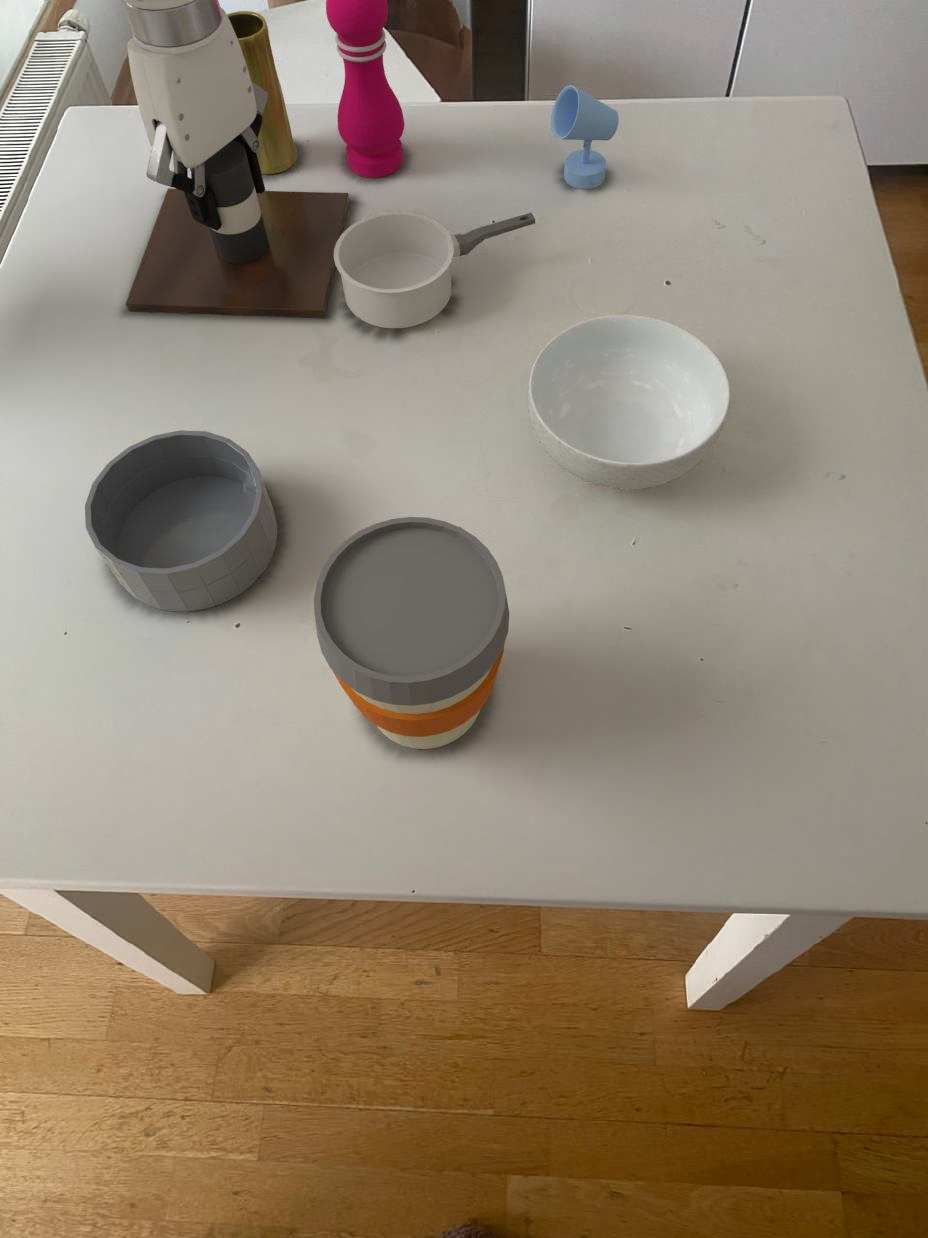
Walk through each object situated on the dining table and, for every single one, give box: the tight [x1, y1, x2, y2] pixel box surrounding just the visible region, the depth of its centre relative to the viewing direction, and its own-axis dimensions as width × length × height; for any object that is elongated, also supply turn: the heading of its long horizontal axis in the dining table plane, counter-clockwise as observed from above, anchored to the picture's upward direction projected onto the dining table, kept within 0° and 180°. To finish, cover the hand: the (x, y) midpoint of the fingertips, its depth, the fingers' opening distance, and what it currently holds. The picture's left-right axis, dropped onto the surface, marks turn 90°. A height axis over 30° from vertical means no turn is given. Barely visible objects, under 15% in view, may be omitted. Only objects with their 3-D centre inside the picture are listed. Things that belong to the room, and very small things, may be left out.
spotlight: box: [550, 84, 620, 190], centre depth 94 cm, size 5×10×7 cm
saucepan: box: [334, 211, 536, 329], centre depth 88 cm, size 12×20×6 cm, turn 109°
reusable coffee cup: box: [313, 516, 510, 750], centre depth 62 cm, size 13×13×15 cm
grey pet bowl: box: [84, 429, 278, 613], centre depth 74 cm, size 14×14×6 cm
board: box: [125, 187, 350, 319], centre depth 93 cm, size 20×18×1 cm
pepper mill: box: [325, 0, 405, 179], centre depth 92 cm, size 7×7×20 cm
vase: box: [226, 10, 298, 175], centre depth 95 cm, size 6×6×14 cm
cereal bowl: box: [527, 314, 731, 490], centre depth 77 cm, size 17×17×7 cm
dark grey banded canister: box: [189, 140, 269, 264], centre depth 89 cm, size 6×6×10 cm
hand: (230, 204), depth 89 cm, fingers open, 5 cm apart
